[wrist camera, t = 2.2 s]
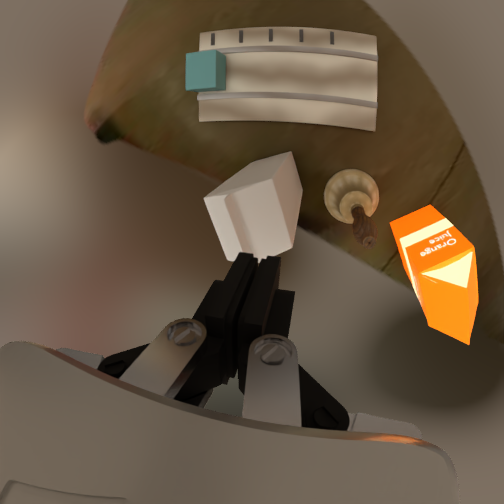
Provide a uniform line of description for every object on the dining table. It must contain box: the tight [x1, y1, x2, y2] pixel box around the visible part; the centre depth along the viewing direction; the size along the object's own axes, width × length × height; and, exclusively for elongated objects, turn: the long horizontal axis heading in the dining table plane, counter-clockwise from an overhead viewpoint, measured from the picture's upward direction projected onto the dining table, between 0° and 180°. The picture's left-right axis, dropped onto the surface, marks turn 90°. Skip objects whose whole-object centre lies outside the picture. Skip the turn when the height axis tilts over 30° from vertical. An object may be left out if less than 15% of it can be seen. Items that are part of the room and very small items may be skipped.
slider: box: [186, 50, 226, 92], centre depth 29 cm, size 5×4×4 cm
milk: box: [204, 151, 303, 263], centre depth 29 cm, size 6×6×22 cm
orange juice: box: [390, 205, 478, 344], centre depth 29 cm, size 8×9×20 cm
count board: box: [197, 27, 378, 131], centre depth 30 cm, size 14×24×3 cm, turn 89°
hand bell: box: [324, 169, 379, 249], centre depth 30 cm, size 8×8×16 cm
